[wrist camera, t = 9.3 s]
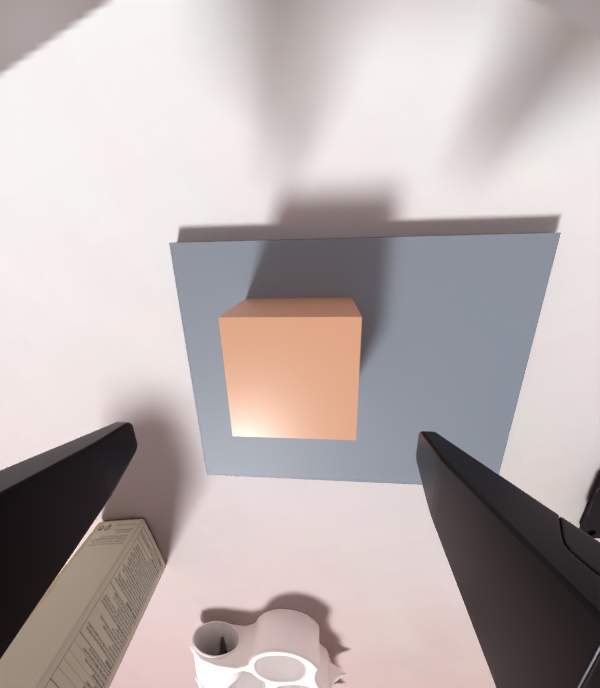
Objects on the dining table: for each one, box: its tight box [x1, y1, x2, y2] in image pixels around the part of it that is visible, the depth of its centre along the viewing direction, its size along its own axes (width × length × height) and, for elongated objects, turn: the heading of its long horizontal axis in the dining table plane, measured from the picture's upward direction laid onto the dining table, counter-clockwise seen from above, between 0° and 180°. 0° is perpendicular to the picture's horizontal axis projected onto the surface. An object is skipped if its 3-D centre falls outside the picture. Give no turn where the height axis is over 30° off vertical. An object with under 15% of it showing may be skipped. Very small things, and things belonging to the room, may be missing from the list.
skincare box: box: [0, 519, 166, 688], centre depth 20 cm, size 6×4×12 cm
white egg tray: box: [190, 609, 346, 688], centre depth 28 cm, size 3×18×15 cm
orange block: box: [218, 298, 362, 440], centre depth 15 cm, size 6×6×4 cm
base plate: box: [169, 233, 561, 485], centre depth 16 cm, size 20×16×4 cm
